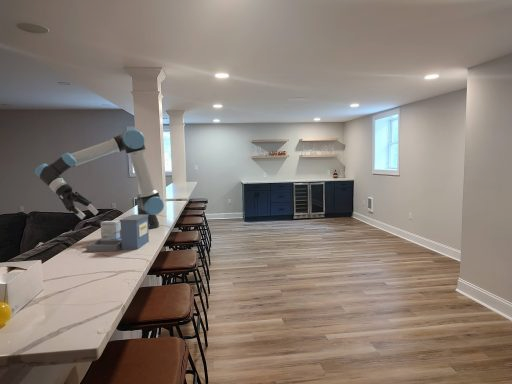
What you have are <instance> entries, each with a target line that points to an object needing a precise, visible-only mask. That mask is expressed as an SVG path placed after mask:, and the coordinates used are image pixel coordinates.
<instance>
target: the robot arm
mask: <svg viewBox="0 0 512 384" xmlns="http://www.w3.org/2000/svg"><path fill="white" fill-rule="evenodd" d="M145 141H146V139H145V135H144V133H143V132H141V131H140V130H138V129H134V128H131V129H130V128H129V129H128V130H126V131H124V132H122V133H120V134H118V135H117V136H113V137H111V139H109V140H107V141H104V142H101V143H98V144H95V145H92V146H90V147H86V148H84V149H80V150H77V151H75V152H72V153H70V152H65V153H63V154H62V155H61V156H59V157H58V158H56V159H55V160H54V161H53V162H52V163H50V164H47V163H41V164H40V165H38V166H37V167H36V168H35V169H34V174H35V175H36V176H37V177H38V178H39V179H40V180H41V181H42V182H43V183H44V184H45V185H46V186H47V187H48V188H50V189H51V191H52V192H54V193H55V195H57V196H58V198H59V199H60V200H61V202H62V204H63V205H64V207H65V208H66V210H67V211H68V212H69V213H71V212H73V213H74V214H75V215H76V216H77V217H78V218H79V219H80V220H83V219H84V218H85V217H86V214H85V213H84V212H83V211H81V210H80V209H79V208H78V207H77V206H75V204H74V202H75V203H79V204H81V205H83V206H85V207H86V208H87V210H89V212H91V213H92V214H93V215H94V216H96V215H97V214H98V213H99V210H98V209H96V207H95V206H93V204H92V201H91V200H90V199H88V198H86V197H85V196H83V195H81V194H80V193H79V192H78V191H75V192H73V187H72V186H70V184H69V183H67V182H66V181H65V180H64V178H62V177H61V176H62V175H63V174H64V173H65V172H67V171H68V170H69V169H72V168H75V167H77V166H79V165H82V164H85V163H89V162H90V161H93V160H96V159H99V158H102V157H105V156H107V155H110V154H113V153H116V152H117V153H121V152H124V151H125V154H126V155H127V156H129V158H130V160H131V163H132V164H131V165H132V168H133V171H134V173H135V177H136V181H137V184H138V187H139V190H140V193H138V194H136V195H137V196H136V201H137V206H136V207H137V215H144V214H149V216H148V230H150V229H151V228H152V229H157V228H159V227H160V222H159V219H158V217H157V215H159V214H161V212H162V211H163V210H164V208H165V203H164V201H163V199H162V198H161V196H160V193H159V191H158V190H157V189H156V188H155V184H154V181H153V178H152V175H151V171H150V167H149V164H148V161H147V158H146V155H145V152H146V151H147V150H146V145H145Z"/></svg>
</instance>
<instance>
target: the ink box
mask: <svg viewBox="0 0 512 384" xmlns="http://www.w3.org/2000/svg"><path fill="white" fill-rule="evenodd" d="M100 237H101V239H100V240H121V223H120V220H105V221H101V222H100Z"/></svg>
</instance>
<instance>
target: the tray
mask: <svg viewBox="0 0 512 384" xmlns="http://www.w3.org/2000/svg"><path fill="white" fill-rule="evenodd" d="M119 250H122V242H121V239H120V240H101V239H98V240H96V241H94V242H90V243H89V244H86V251H87V252H118V251H119Z"/></svg>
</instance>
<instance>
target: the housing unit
mask: <svg viewBox="0 0 512 384" xmlns="http://www.w3.org/2000/svg"><path fill="white" fill-rule="evenodd" d="M148 216H149V214H144V215H138V214H131V215H128V216H126V217H123V218H121V219H119V223H120V240H121V242H122V248H121V250H139V249H141V248H142V247H143V246H145V245H146V244H147V243H149V242H150V236H149V234H150V233H149V229H148Z"/></svg>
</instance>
